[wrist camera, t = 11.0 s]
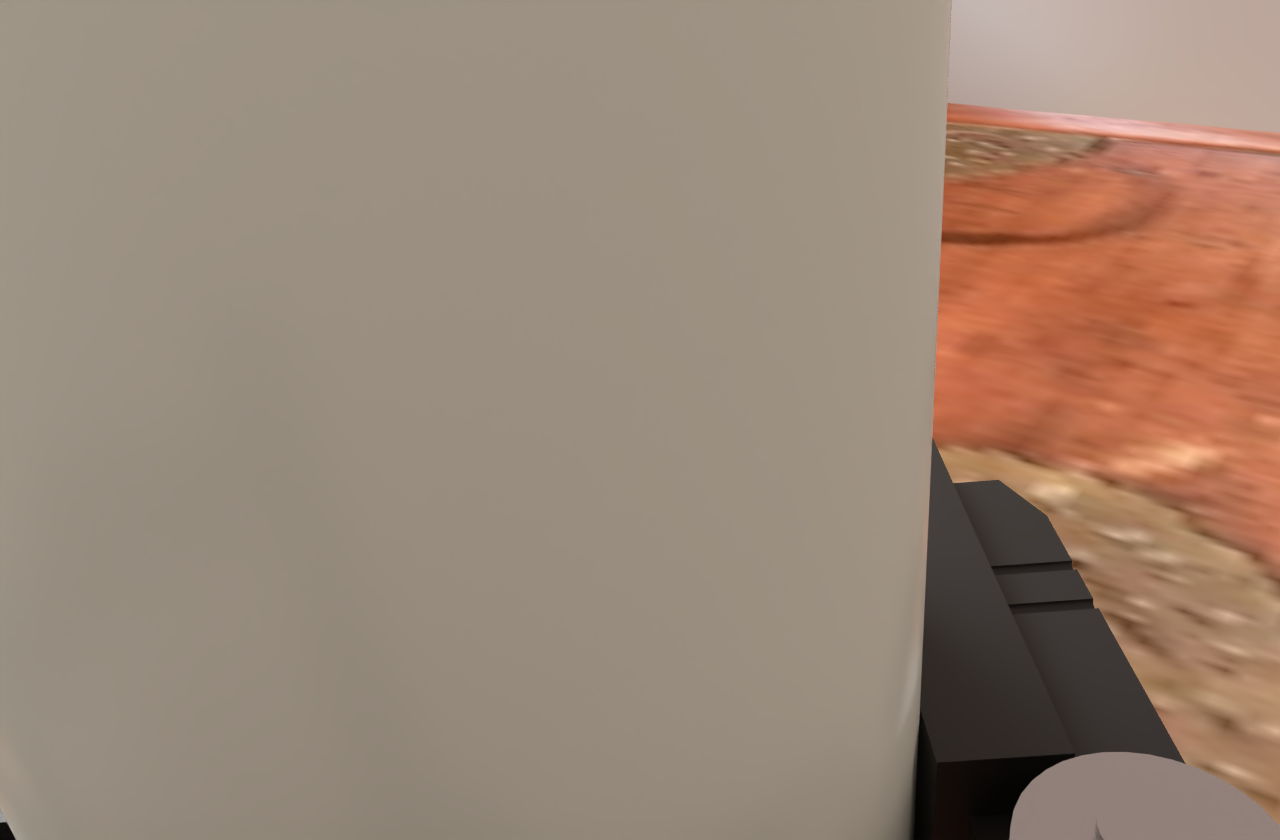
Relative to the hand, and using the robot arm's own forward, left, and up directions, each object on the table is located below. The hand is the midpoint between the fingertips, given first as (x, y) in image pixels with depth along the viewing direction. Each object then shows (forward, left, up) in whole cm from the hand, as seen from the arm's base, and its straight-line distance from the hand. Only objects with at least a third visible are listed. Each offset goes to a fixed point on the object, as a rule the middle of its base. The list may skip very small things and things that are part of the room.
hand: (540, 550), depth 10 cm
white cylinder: (0, -3, -8) cm, 8 cm away
